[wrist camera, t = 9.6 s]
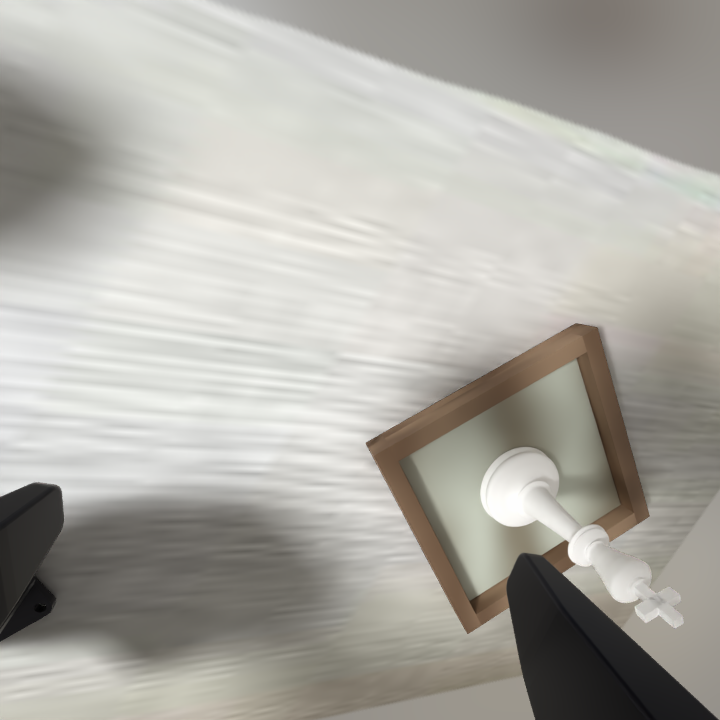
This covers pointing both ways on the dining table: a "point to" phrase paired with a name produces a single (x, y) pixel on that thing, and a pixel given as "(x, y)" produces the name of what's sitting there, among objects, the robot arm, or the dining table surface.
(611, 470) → the walnut tray
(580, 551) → the chess piece
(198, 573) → the dining table surface
